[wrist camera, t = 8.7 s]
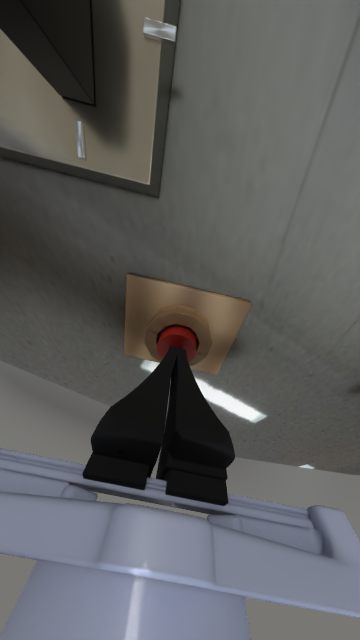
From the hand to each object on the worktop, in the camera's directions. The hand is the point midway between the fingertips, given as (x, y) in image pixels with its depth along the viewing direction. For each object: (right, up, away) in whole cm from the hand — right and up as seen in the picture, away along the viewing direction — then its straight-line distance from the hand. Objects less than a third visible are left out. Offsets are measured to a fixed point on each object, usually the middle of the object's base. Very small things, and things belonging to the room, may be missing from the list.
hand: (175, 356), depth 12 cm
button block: (0, +2, +4) cm, 4 cm away
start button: (0, +1, +2) cm, 2 cm away
